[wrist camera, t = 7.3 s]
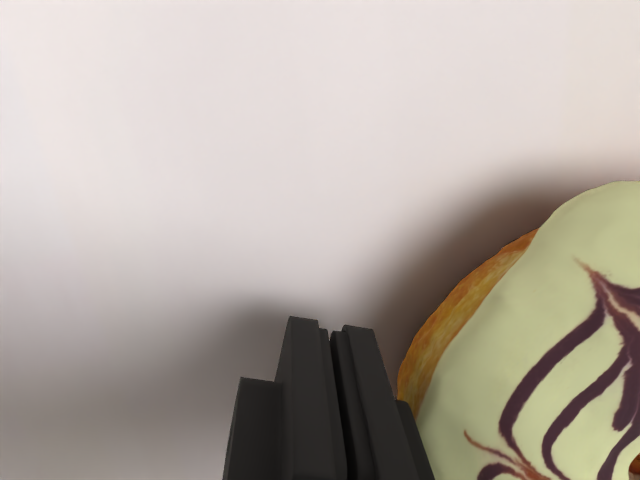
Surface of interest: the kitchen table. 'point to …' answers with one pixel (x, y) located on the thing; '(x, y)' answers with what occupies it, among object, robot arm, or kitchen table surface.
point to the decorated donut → (538, 353)
